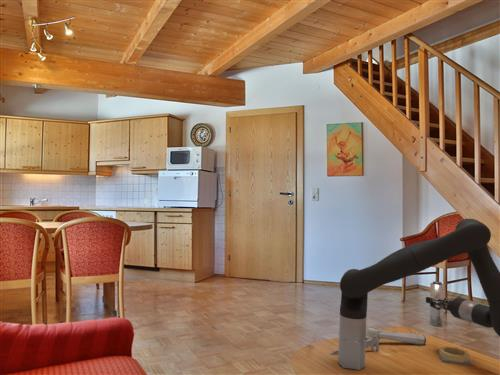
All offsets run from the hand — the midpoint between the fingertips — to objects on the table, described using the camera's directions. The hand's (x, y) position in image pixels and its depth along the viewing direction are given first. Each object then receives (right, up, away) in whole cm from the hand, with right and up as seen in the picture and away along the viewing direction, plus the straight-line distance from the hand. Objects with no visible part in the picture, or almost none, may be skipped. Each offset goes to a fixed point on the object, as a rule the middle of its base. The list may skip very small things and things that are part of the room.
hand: (432, 299), depth 164 cm
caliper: (-33, -19, -7) cm, 39 cm away
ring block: (+4, -20, -10) cm, 22 cm away
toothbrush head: (-14, -20, +4) cm, 24 cm away
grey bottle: (+1, -9, -3) cm, 10 cm away
